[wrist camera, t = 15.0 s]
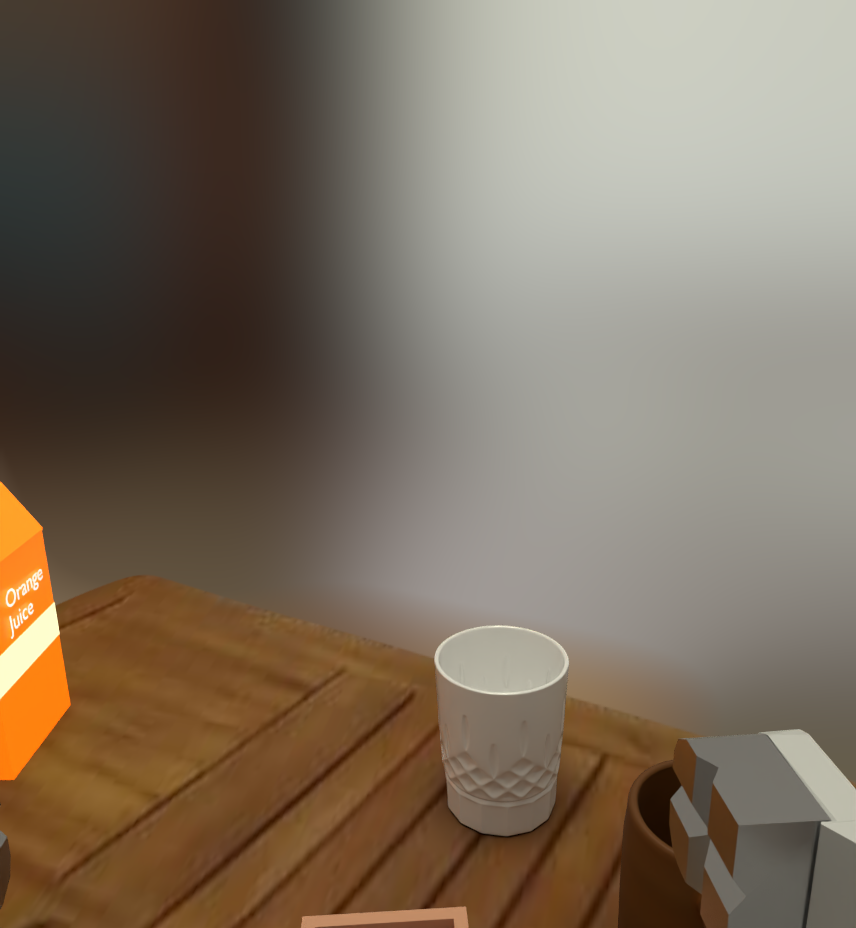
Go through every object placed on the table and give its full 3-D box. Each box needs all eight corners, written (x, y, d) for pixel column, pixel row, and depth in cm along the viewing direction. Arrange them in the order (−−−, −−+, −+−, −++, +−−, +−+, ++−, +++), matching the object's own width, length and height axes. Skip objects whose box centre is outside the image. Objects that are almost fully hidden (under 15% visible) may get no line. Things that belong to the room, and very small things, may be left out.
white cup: (499, 743, 56) (500, 612, 53) (590, 802, 50) (596, 658, 47) (411, 795, 51) (407, 654, 48) (501, 866, 45) (501, 711, 43)
